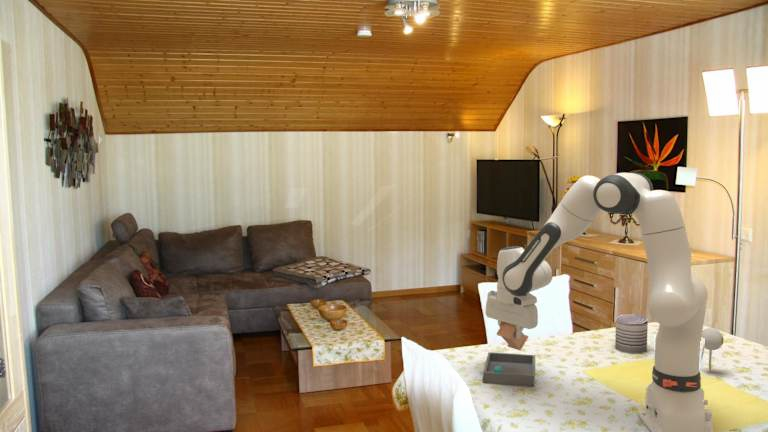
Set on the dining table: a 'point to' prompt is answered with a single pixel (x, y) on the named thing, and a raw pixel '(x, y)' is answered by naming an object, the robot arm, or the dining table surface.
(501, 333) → the terracotta square pedestal
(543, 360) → the dining table surface
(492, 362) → the charcoal tray
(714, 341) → the lollipop
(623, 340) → the can
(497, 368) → the teal ball
